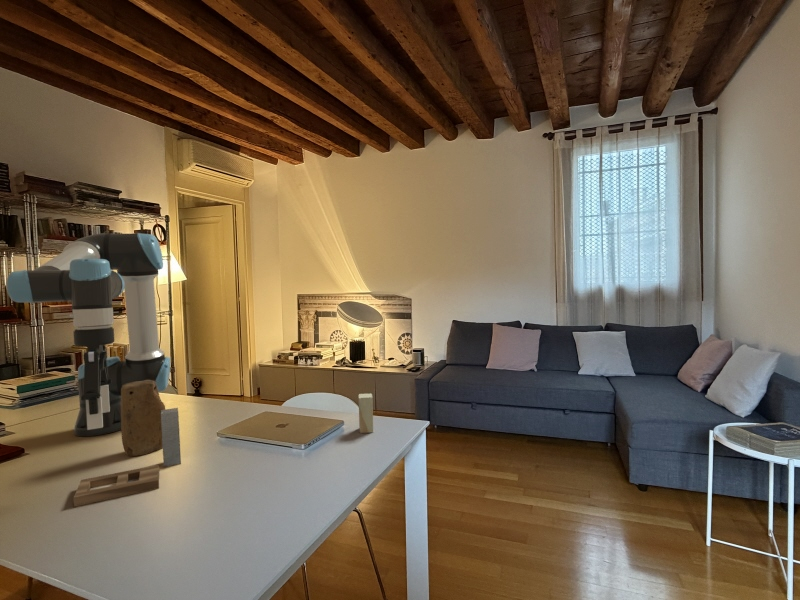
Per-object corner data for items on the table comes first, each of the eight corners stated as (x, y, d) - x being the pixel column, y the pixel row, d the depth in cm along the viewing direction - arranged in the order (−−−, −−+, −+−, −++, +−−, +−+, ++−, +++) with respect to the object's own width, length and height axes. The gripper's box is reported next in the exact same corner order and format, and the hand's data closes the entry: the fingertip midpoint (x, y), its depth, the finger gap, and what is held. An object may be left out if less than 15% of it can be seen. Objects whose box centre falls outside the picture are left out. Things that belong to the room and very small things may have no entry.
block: (125, 459, 120) (121, 387, 119) (121, 452, 125) (117, 382, 125) (169, 449, 127) (166, 380, 126) (163, 442, 132) (160, 376, 132)
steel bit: (163, 461, 118) (161, 410, 117) (180, 458, 119) (177, 407, 119) (163, 467, 114) (160, 413, 113) (181, 463, 116) (178, 411, 115)
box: (359, 427, 140) (358, 393, 140) (373, 427, 141) (372, 392, 140) (359, 433, 135) (358, 397, 134) (373, 432, 135) (372, 397, 135)
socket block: (81, 488, 103) (81, 479, 103) (159, 472, 111) (158, 464, 111) (74, 506, 95) (73, 497, 94) (158, 488, 102) (158, 479, 102)
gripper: (82, 324, 109) (87, 409, 110) (62, 333, 87) (68, 439, 88) (118, 322, 112) (123, 404, 113) (107, 330, 90) (113, 432, 91)
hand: (99, 420), depth 100 cm, fingers open, 13 cm apart
